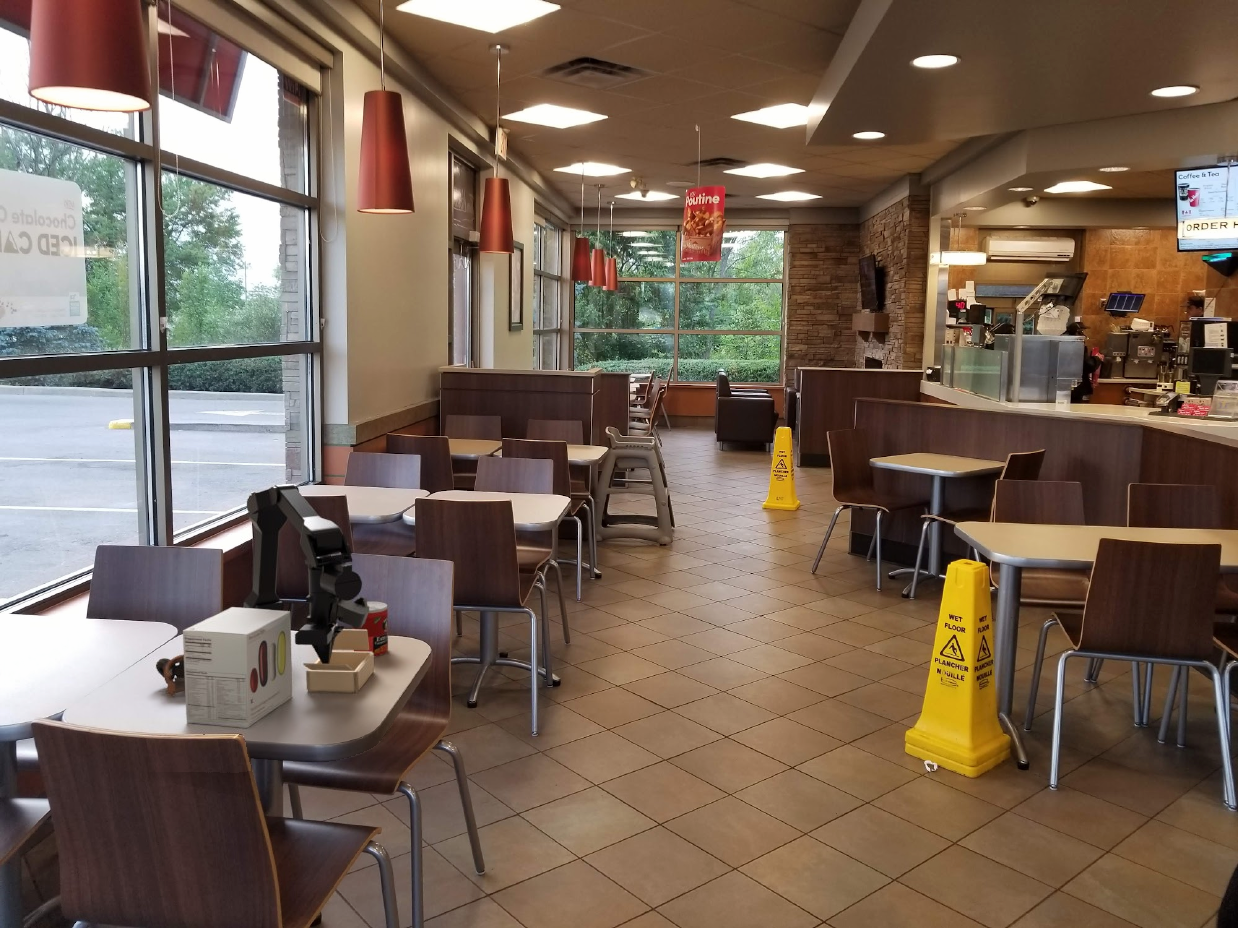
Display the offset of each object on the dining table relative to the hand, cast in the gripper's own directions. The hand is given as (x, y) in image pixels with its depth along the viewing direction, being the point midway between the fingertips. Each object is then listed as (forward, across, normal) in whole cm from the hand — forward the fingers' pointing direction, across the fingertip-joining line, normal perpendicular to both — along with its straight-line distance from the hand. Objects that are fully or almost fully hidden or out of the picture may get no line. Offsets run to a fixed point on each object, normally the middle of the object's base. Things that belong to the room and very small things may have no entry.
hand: (326, 664), depth 198 cm
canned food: (+8, +30, -1) cm, 31 cm away
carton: (+7, +10, 0) cm, 12 cm away
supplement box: (+7, -7, +15) cm, 18 cm away
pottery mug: (+8, +4, +31) cm, 32 cm away
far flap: (0, +15, 0) cm, 15 cm away
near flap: (+1, +1, 0) cm, 1 cm away
